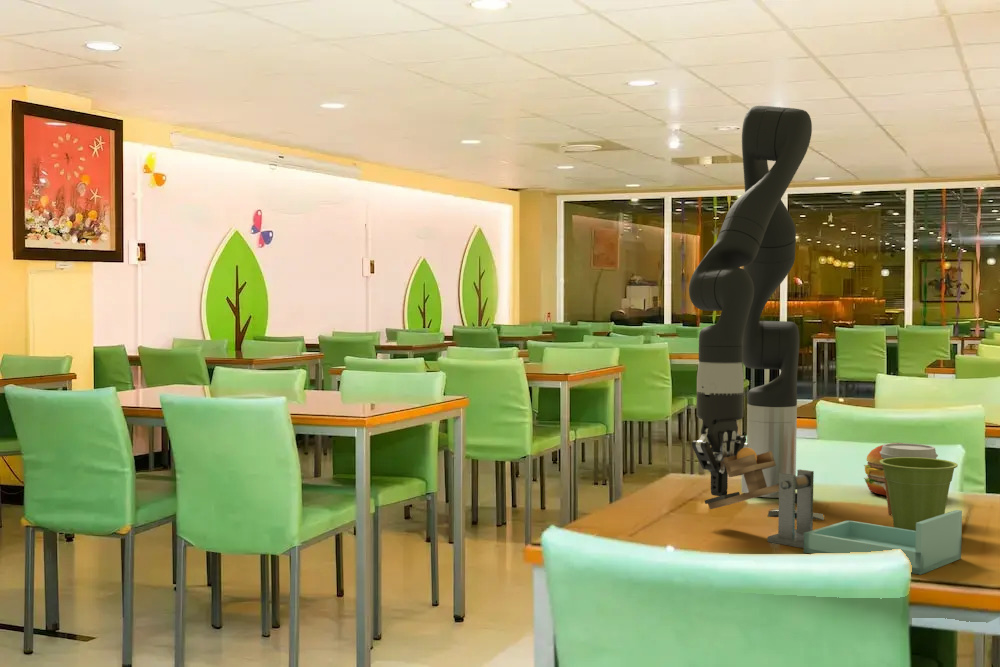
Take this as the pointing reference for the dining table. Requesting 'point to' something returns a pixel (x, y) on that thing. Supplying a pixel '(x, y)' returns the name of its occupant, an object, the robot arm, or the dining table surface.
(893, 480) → the plant pot
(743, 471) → the lever
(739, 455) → the ball
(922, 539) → the tray
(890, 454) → the disposable coffee cup
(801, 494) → the catapult base
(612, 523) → the dining table surface
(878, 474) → the burger
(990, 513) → the dining table surface
